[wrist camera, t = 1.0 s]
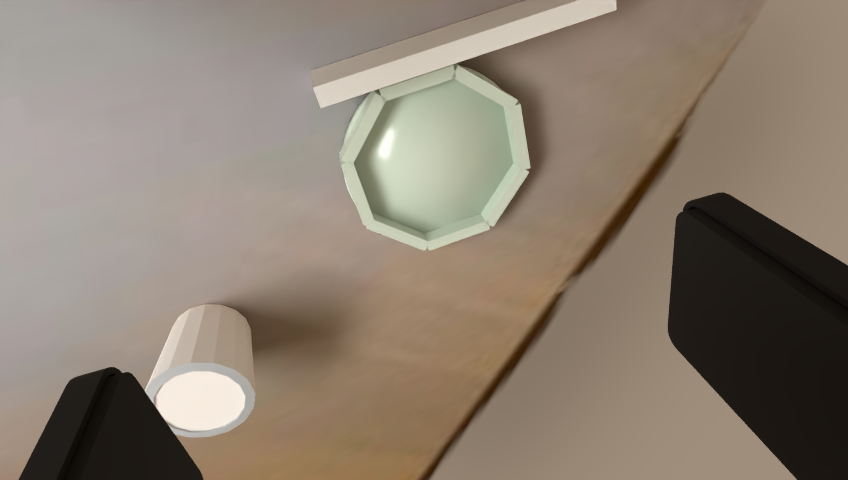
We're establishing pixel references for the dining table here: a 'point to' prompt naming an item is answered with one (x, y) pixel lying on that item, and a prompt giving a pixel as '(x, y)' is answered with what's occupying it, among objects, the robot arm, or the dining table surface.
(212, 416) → the white cylinder
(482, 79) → the dish
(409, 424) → the dining table surface
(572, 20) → the fence
